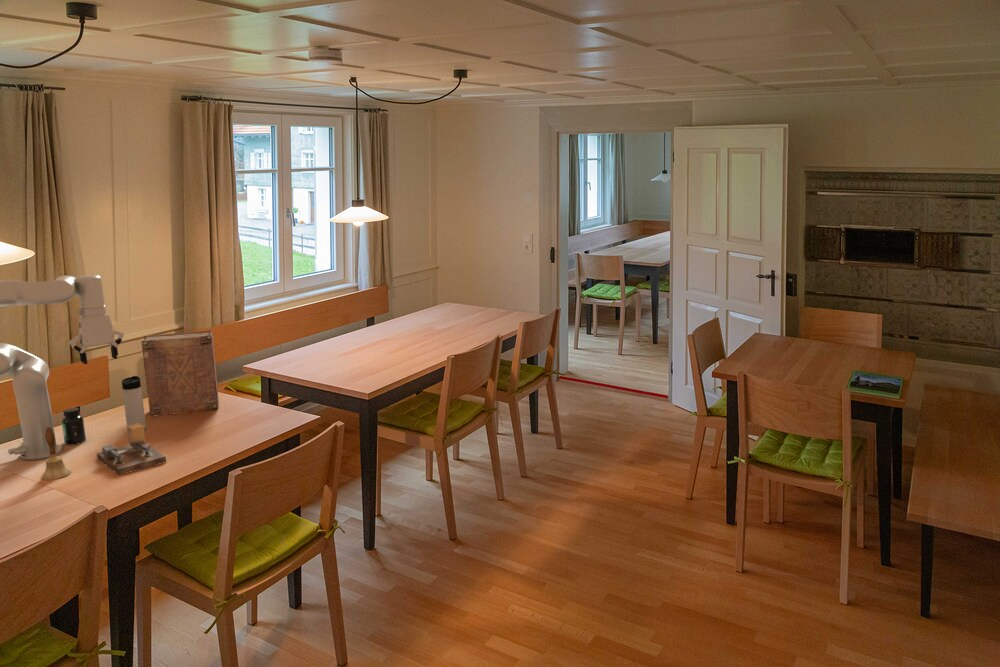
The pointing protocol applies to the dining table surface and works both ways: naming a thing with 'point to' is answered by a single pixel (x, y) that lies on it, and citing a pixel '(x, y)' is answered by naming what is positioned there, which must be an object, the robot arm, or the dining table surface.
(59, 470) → the hand bell
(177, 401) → the book
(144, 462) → the gauge plate
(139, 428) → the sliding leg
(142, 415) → the travel mug
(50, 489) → the dining table surface
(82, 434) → the supplement bottle
